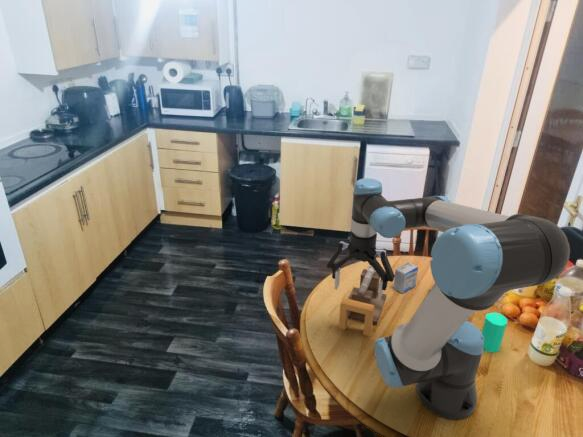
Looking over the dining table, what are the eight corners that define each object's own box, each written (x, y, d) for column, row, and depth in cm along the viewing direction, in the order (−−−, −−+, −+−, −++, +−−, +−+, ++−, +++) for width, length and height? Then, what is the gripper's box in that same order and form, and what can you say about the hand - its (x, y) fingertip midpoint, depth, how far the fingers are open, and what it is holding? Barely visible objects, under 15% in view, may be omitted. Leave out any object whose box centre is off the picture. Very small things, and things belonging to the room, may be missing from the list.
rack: (376, 325, 139) (380, 294, 134) (341, 316, 143) (343, 286, 138) (386, 297, 153) (389, 269, 147) (353, 290, 157) (355, 261, 151)
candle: (498, 340, 133) (507, 309, 128) (501, 354, 128) (510, 322, 122) (477, 337, 134) (485, 306, 129) (479, 350, 129) (488, 318, 124)
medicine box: (402, 294, 155) (405, 274, 151) (392, 288, 158) (395, 268, 154) (415, 286, 159) (418, 266, 155) (405, 281, 162) (408, 261, 158)
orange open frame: (369, 336, 135) (372, 310, 130) (338, 328, 138) (340, 303, 134) (371, 330, 137) (374, 305, 133) (341, 322, 140) (343, 297, 136)
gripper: (410, 234, 121) (400, 294, 130) (326, 218, 129) (323, 276, 139) (406, 246, 115) (396, 309, 124) (318, 229, 123) (315, 289, 133)
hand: (358, 292), depth 132 cm, fingers open, 13 cm apart
